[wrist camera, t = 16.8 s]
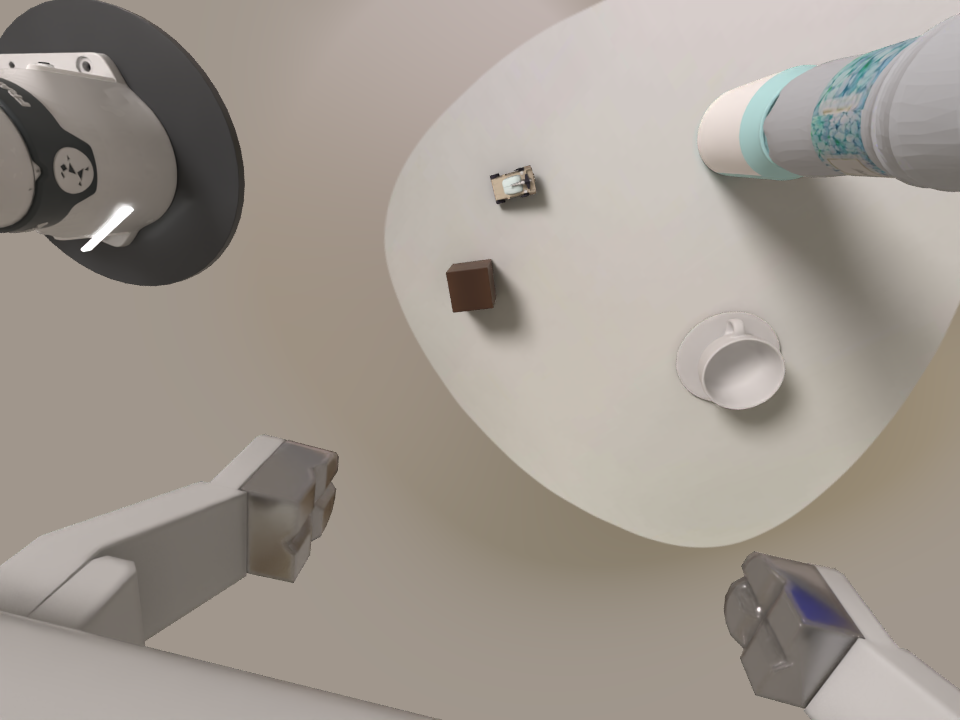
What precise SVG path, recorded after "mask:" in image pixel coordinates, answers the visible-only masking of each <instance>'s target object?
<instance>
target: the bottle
mask: <svg viewBox="0 0 960 720" xmlns="http://www.w3.org/2000/svg"><path fill="white" fill-rule="evenodd" d="M763 131H764V134H765V136H766V138H767V143H768V147H769V157H770V158H771V160H772V161H773V162H774V163H775V164H777V165H778V166H780V167H782V168H783V169H785V170H787V171H789V172H791V173H794V174H797V175H800V176H806V177H834V176H845V175H851V176H867V177H887V178H896V179H898V180H900V181H902V182H904V183H906V184H908V185H912V186H916V187H921V188H932V189H936V190H940V191H947V192H960V13H959V14H957V15H954V16H952V17H950V18H948V19H946V20H944V21H942V22H940V23H939V24H937V25H935V26H934V27H932V28H931V29H929V30H928V31H926V32H925V33H924V34H923V35H921V36H918V37H915V38H912V39H909V40H906V41H903V42H900V43H897V44H894V45H890V46H887V47H884V48H881V49H878V50H875V51H872V52H869V53H866V54H861V55H856V56H850V57H845V58H841V59H836V60H832V61H829V62H826V63H823V64H821V65H818V66H816V67H814V68H812V69H810V70H808V71H806V72H804V73H803V74H801V75H799V76H797V77H796V78H794V79H793V80H791V81H790V82H789V83H788V84H787V85H786V86H785V87H784V88H783V89H782V90H781V92H780V95H779V97H778V99H777V101H776V102H775V104H774V106H773V108H772V110H771V111H770V113H769V114H768V116H767V117H766V119H765V121H764V124H763Z"/></svg>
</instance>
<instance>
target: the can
mask: <svg viewBox="0 0 960 720" xmlns="http://www.w3.org/2000/svg"><path fill="white" fill-rule="evenodd" d="M816 66H817V65H802V66H796V67H793V68H790V69H787V70H784V71H781V72H778V73H776V74H773V75H770V76H767V77H765V78H762V79H759V80H756V81H753V82H751V83H748V84H745V85H742V86H740V87H737V88H734V89H731V90H729V91H727V92H726V93H724V94H722V95H721V96H720V97H718V98H717V99H716V100H715V101H714V102H713V103H712V104H711V105H710V107H709V108H708V109H707V111H706V112H705V114H704V116H703V118H702V120H701V123H700V126H699V129H698V136H697V144H698V150H699V153H700V156H701V158H702V160H703V161H704V163H705V164H706V165H707V166H708V167H709V168H710V169H711V170H713V171H715V172H716V173H719V174H722V175H726V176H736V177H747V178H758V179H770V180H792V179H797V178H800V177H803V176H800V175H797V174H794V173H791V172H789V171H787V170H785V169H783V168H782V167H780V166H778V165H777V164H775V163H774V162H773V161H772V160H771V158H770V157H769V147H768V143H767V138H766V136H765V134H764V131H763V124H764V121H765V119H766V117H767V116H768V114H769V113H770V111H771V110H772V108H773V106H774V104H775V102H776V101H777V99H778V97H779V95H780V92H781V90H782V89H783V88H784V87H785V86H786V85H787V84H788V83H789V82H790V81H791V80H793V79H794V78H796V77H797V76H799V75H801V74H803V73H804V72H806V71H808V70H810V69H812V68H814V67H816Z"/></svg>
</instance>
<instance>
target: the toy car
mask: <svg viewBox="0 0 960 720" xmlns="http://www.w3.org/2000/svg"><path fill="white" fill-rule="evenodd" d="M517 170H519V171H517ZM514 171H516V172H512V173H509V174H505V175H502V176H499V173H498V174H495V175H491V176H490V178H491V182H492V186H493V190H494V194H495V199H496V203H497V204H500V203H503V202H505V199H510V198H512V197H517V196H521V195H523V196H521V197H526V196H529V195H533V194H536V187H535V182H534V181H536V180H535V179H534V178H535V177H534V176H533V175H534V174H533V172H532V168H531V167H530V165H529V166H525V167H522V168H518V169H516V170H514Z"/></svg>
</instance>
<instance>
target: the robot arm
mask: <svg viewBox="0 0 960 720" xmlns="http://www.w3.org/2000/svg"><path fill="white" fill-rule="evenodd" d="M89 64H90V66H91V70H89ZM176 185H177V165H176V159H175V155H174V151H173V148H172V145H171V142H170V139H169V137H168V135H167V133H166V131H165V129H164V127H163V126H162V124H161V122H160V121H159V119H158V118H157V116H156V115H155V114H154V113H153V111H152V110H151V109H150V108H149V107H148V106H147V105H146V103H145V102H144V101H142V100H141V99H140V98H139V97H138V96H137V95H136V94H135V93H134V92H133V91H132V90H131V89H130V88H129V87H128V85H127V84H126V82H125V80H124V79H123V77H122V75H121V73H120V72H119V70H118V68H117V67H116V65H115V64H114V62H113V61H112V60H111V59H110V58H109V57H108V56H107V55H105V54H103V53H95V52H79V53H28V54H0V233H6V232H9V233H20V232H29V231H33V230H35V231H36V232H37V233H40V234H44V235H51V236H53V237H54V238H55V239H56V240H73V239H83V238H92V239H91V240H90V241H89V242H88V243H87V244H86V245H85V246H84V247H83V248H82V249H81V250H82V251H83V252H84V251H89V250H92V249H93V248H94V247H95V246H96V245H97V244H98V243H99V242H100V241H102V242H104V243H107V244H109V245H112V246H114V247H125V246H128V245H129V244H130V243H131V242H132V241H133V240H134V238H135V237H136V235H137V233H138V232H139V230H140V229H142V228H143V227H145V226H147V225H149V224H151V223H153V222H155V221H156V220H158V219H159V218H160V217H161V216H162V215H163V214H164V213H165V212H166V211H167V209H168V208H169V206H170V205H171V203H172V200H173V198H174V195H175V191H176ZM338 458H339V457H338V455H337V453H336V452H332V451H328V450H325V449H321V448H317V447H313V446H309V445H305V444H302V443H298V442H294V441H290V440H288V441H287V440H285V439H281V438H277V437H273V436H269V435H265V434H263V435H260V436H257V437H256V438H255V439H254V440H253V441H252V442H251V443H250V444H249V445H248V446H247V447H246V448H244V449H243V451H241V452H240V453H239V454H238V455H237V456H236V457H235V458H234V459H233V460H232V461H231V462H230V463H229V464H228V465H227V466H226V467H225V468H224V469H223V470H222V471H221V472H220V473H219V474H218V475H217V476H216V477H215V478H214V479H213V480H212V481H211V482H210V483H207V482H203V481H200V482H198V483H194V484H192V485H188V486H186V487H183V488H180V489H177V490H174V491H171V492H168V493H165V494H162V495H159V496H156V497H153V498H151V499H148V500H144V501H141V502H138V503H136V504H133V505H130V506H127V507H124V508H121V509H118V510H115V511H112V512H109V513H106V514H103V515H100V516H98V517H94V518H91V519H89V520H86V521H83V522H80V523H77V524H74V525H71V526H68V527H65V528H62V529H59V530H56V531H53V532H50V533H47V534H44V535H42V536H39V537H38V538H37V539H35V540H34V541H33V542H31V543H30V544H29V545H27V546H26V547H25V548H23V549H22V550H21V551H19V552H18V553H17V554H16V555H14V556H13V557H12V558H10V559H9V560H7V561H6V562H5V563H3V564H2V565H1V566H0V720H440V719H436V718H432V717H428V716H424V715H420V714H416V713H412V712H408V711H404V710H400V709H396V708H392V707H388V706H384V705H380V704H376V703H372V702H367V701H364V700H360V699H356V698H351V697H348V696H343V695H340V694H336V693H331V692H327V691H323V690H319V689H315V688H311V687H307V686H303V685H299V684H295V683H291V682H287V681H283V680H279V679H275V678H271V677H266V676H263V675H259V674H255V673H251V672H247V671H242V670H239V669H234V668H231V667H226V666H222V665H218V664H214V663H210V662H206V661H202V660H198V659H194V658H190V657H186V656H182V655H178V654H174V653H170V652H166V651H161V650H158V649H154V648H150V647H146V646H145V641H146V640H147V639H149V638H150V637H152V636H154V635H155V634H157V633H158V632H160V631H161V630H163V629H164V628H166V627H167V626H169V625H171V624H172V623H174V622H175V621H177V620H178V619H180V618H181V617H183V616H185V615H186V614H188V613H189V612H191V611H192V610H194V609H196V608H197V607H199V606H200V605H202V604H203V603H205V602H207V601H208V600H210V599H211V598H213V597H214V596H216V595H217V594H219V593H220V592H222V591H224V590H225V589H227V588H228V587H230V586H231V585H233V584H235V583H236V582H238V581H239V580H241V579H242V578H244V577H245V576H246V573H249V574H254V575H258V576H263V577H268V578H273V579H278V580H282V581H287V582H291V583H294V581H295V579H296V578H297V576H298V574H299V573H300V571H301V569H302V567H303V566H304V564H305V562H306V561H307V559H308V557H309V556H310V549H311V541H313V540H315V539H317V538H319V537H320V536H321V535H322V533H323V531H324V529H325V527H326V525H327V523H328V520H329V518H330V515H331V512H332V509H333V504H334V500H335V492H336V488H335V487H334V485H333V483H332V482H331V480H332V479H333V477H334V476H335V474H336V473H337V471H338ZM741 567H742V570H743V573H744V577H742V578H741V579H738V580H737V581H735V582H733V583H732V584H731V586H730V588H729V590H728V592H727V594H726V596H725V604H724V614H725V620H726V624H727V627H728V630H729V632H730V635H731V636H732V637H733V638H734V639H735V640H736V641H737V642H738V643H739V644H740V645H741V646H742V647H743V652H742V655H741V657H740V659H741V661H742V664H743V667H744V669H745V671H746V674H747V676H748V679H749V681H750V683H751V686H752V688H753V691H754V693H755V695H757V696H761V697H764V698H768V699H772V700H775V701H779V702H783V703H786V704H790V705H794V706H798V707H801V708H805V710H804V712H805V713H806V714H807V715H808V716H809V718H810V719H811V720H960V689H959V688H957V687H956V686H955V685H953V684H952V683H951V682H949V681H948V680H947V679H945V678H944V677H943V676H941V675H940V674H939V673H938V672H936V671H935V670H934V669H932V668H931V667H930V666H928V665H927V664H926V663H924V662H923V661H922V660H921V659H919V658H918V657H916V656H915V655H914V654H913V653H911V652H910V651H909V650H907V649H903V648H899V647H898V646H897V644H896V643H895V642H894V640H893V639H892V638H891V636H890V635H889V634H888V632H887V631H886V630H885V628H884V627H883V626H882V625H881V623H880V622H879V621H878V619H877V618H876V617H875V615H874V614H873V612H872V611H871V610H870V608H869V607H868V606H867V605H866V603H865V602H864V600H863V599H862V598H861V596H860V595H859V594H858V592H857V591H856V590H855V588H854V587H853V586H852V585H851V583H850V582H849V581H848V579H847V578H846V576H845V575H844V574H842V573H841V572H839V571H838V570H837V569H835V568H830V567H825V566H821V565H816V564H811V563H802V562H798V561H794V560H789V559H785V558H781V557H776V556H772V555H768V554H764V553H759V552H755V551H754V552H753V553H751V554H750V555H748V556H747V558H746V559H745V561H744V563H743V564H742V566H741Z"/></svg>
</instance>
